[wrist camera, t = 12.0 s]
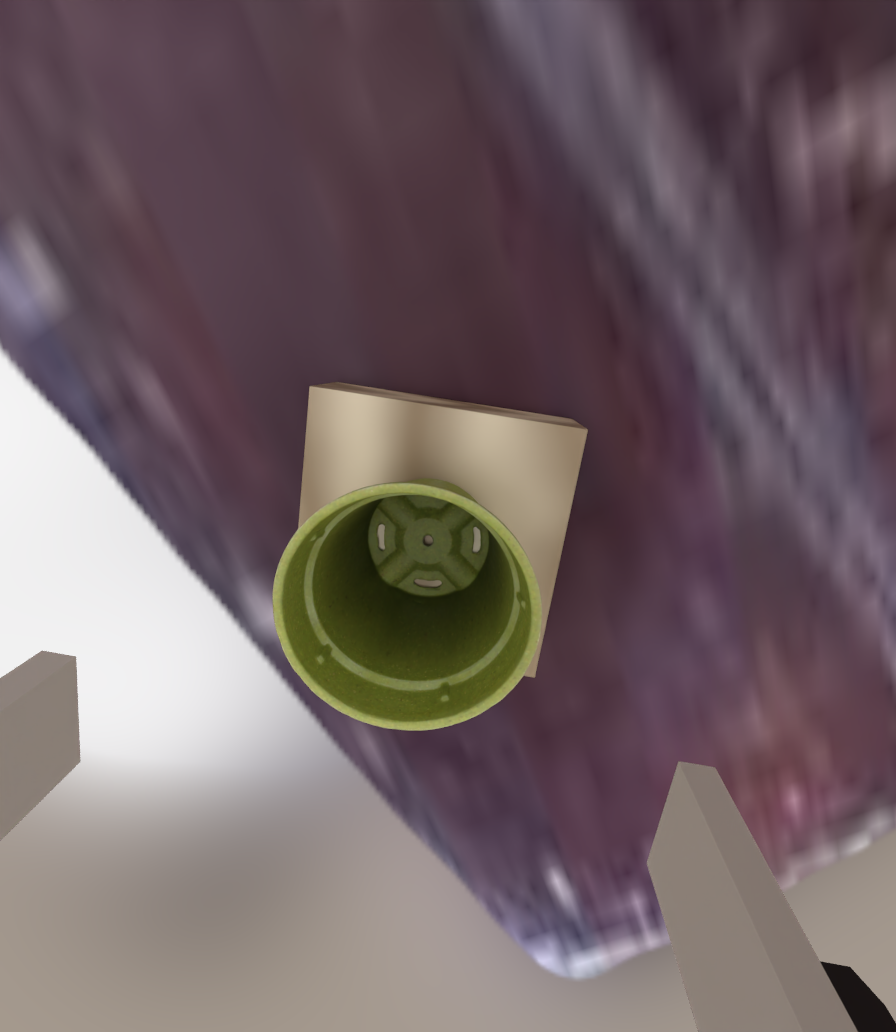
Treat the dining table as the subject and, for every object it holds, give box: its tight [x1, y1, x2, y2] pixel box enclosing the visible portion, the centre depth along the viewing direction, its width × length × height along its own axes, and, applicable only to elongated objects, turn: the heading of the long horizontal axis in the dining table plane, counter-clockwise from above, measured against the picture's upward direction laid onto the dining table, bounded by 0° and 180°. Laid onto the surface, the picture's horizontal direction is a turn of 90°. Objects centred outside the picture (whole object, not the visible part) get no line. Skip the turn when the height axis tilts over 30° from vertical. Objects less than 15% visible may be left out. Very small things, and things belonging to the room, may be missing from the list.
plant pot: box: [273, 478, 542, 730], centre depth 24 cm, size 9×9×9 cm
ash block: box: [298, 382, 588, 678], centre depth 31 cm, size 13×13×5 cm
